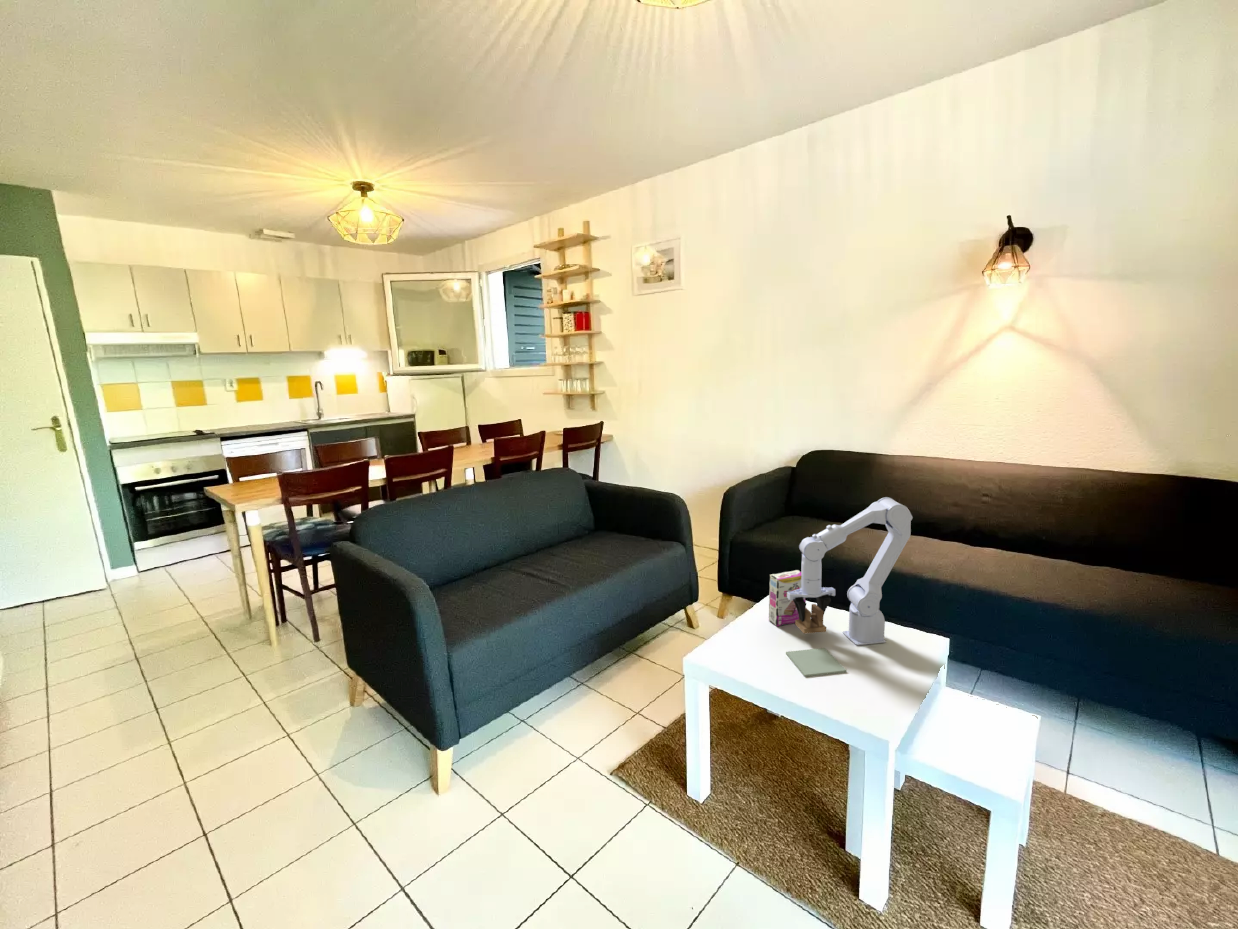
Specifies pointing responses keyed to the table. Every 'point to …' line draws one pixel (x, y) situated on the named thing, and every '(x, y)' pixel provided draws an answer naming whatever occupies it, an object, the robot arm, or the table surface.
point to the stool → (812, 621)
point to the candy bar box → (783, 597)
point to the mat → (815, 662)
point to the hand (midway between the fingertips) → (810, 619)
